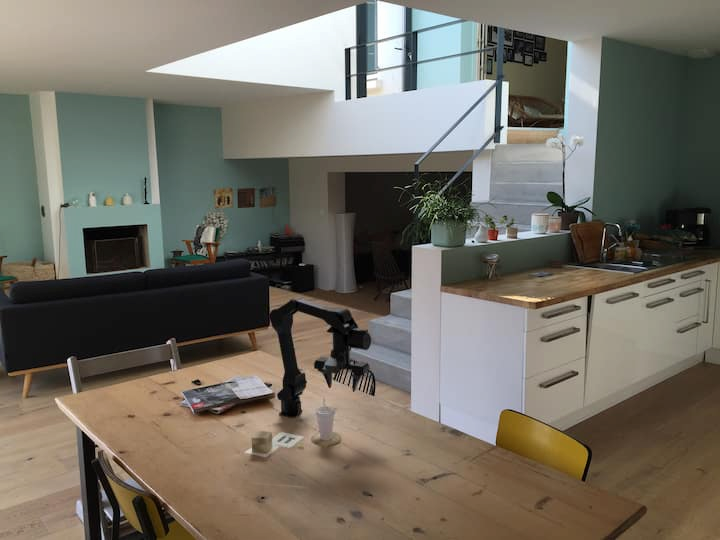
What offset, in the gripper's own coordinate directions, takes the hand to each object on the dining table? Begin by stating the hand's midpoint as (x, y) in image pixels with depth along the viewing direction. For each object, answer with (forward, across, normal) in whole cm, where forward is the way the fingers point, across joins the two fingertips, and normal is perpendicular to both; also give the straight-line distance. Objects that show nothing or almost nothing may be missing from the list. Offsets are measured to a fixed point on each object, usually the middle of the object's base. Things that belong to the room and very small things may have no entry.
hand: (341, 389), depth 206 cm
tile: (+13, -15, -27) cm, 34 cm away
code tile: (+13, -12, -18) cm, 25 cm away
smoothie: (+13, 0, -12) cm, 17 cm away
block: (+13, -15, -27) cm, 33 cm away
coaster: (+13, 0, -12) cm, 18 cm away
